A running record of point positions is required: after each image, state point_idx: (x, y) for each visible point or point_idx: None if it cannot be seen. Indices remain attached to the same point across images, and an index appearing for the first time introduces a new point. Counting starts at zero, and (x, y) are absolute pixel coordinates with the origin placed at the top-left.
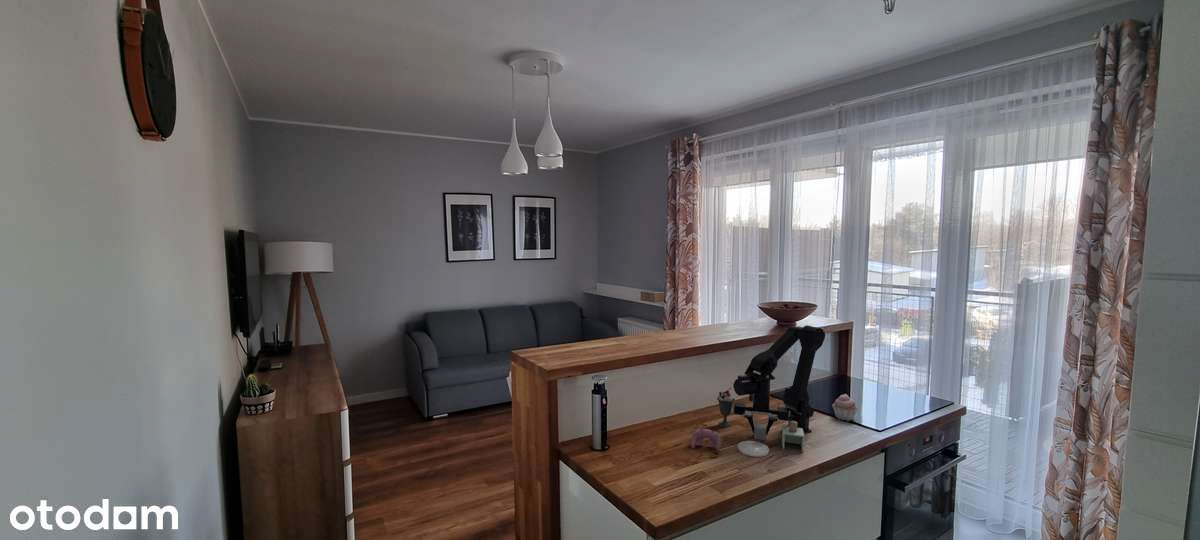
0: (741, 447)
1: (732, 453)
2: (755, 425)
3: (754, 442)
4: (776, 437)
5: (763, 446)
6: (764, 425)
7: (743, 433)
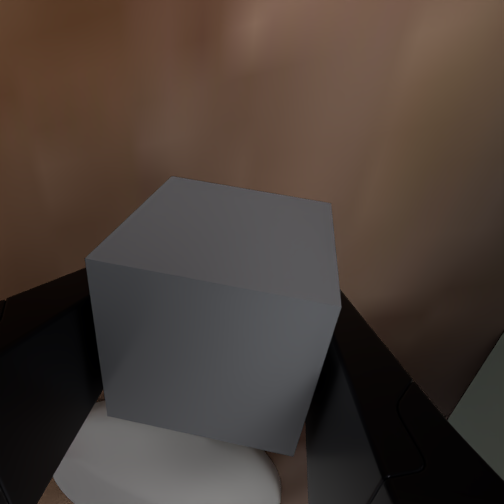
0: (81, 496)
1: (52, 494)
2: (113, 346)
3: (167, 443)
4: (478, 238)
5: (240, 492)
6: (294, 330)
7: (35, 179)
